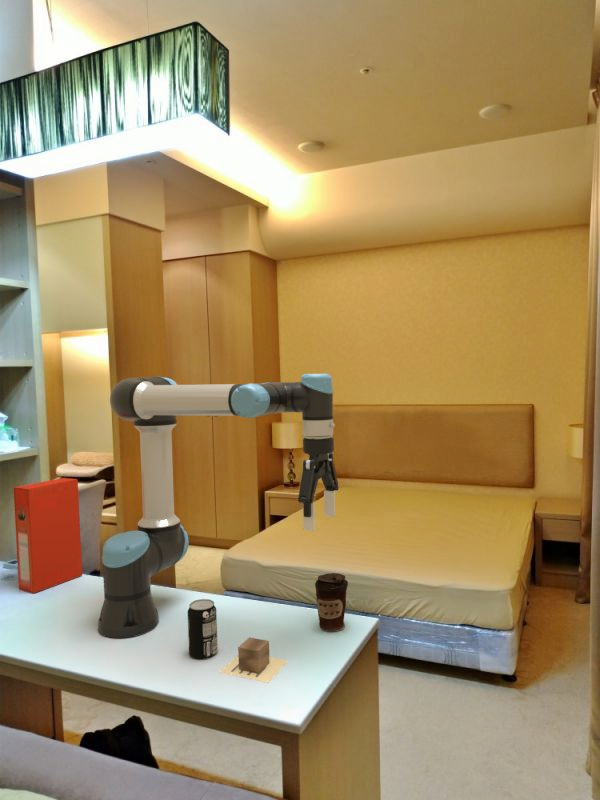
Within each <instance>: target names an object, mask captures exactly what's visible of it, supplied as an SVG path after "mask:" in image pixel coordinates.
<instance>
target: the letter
mask: <svg viewBox="0 0 600 800" xmlns="http://www.w3.org/2000/svg"><path fill="white" fill-rule="evenodd" d="M288 661H289V660H287V659H282V658H278V657H272V656H269V662H270V663H269V664H268V665H267V666H266V667H265V668H264V669H263V670H262V671H261V672H260V673H259V674H257V673H253V672H248V671H244V670H239V658H238V654H237V655H236V656H235V657H234V658H233V659H232V660H230V662H229V663H227V664H226V665H225V666H224V667H223V668H222V669H221V670H220V671H219V673H221V674H226V675H231V676H234V677H240V678H244V679H248V680H253V681H257V682H261V683H266V684H269V683H270V682H271V681H272V680H273V679H274V677H275V676H276V675H277V674H278V673H279V672H280V671H281V669H282V668H283V667H284V666H286V664H287V663H288Z"/></svg>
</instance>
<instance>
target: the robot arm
mask: <svg viewBox="0 0 600 800" xmlns="http://www.w3.org/2000/svg"><path fill="white" fill-rule="evenodd" d="M332 379H333V378H332V376H331V374H329V373H304V374H302V375H301V379H300V381H296V382H295V381H294V382H293V381H292V382H290V381H288V382H285V381H284V382H282V381H279V382H276V381H268V382H262V383H238V384H237V383H230V384H229V383H228V384H227V383H226V384H225V383H224V384H223V383H222V384H220V383H218V384H216V383H215V384H214V383H213V384H210V383H209V384H208V383H207V384H178V383H177V382H176V381H175V380H173V379H171V378H170V377H169V378H168V377H165V376H164V377H163V376H146V377H144V376H142V377H128V378H125V379H122V380H120V381H119V382H118V383H116V384H115V385H114V387H113V388H112V390H111V392H110V396H109V405H110V407H111V409H112V411H113V413H114V414H115V415H116V416H117V417H118V418H120V419H121V420H124V421H127V422H133V427H134V428H135V429H136V430H137V431H138V432H139V439H140V440H139V441H140V443H139V444H140V445H139V446H140V447H139V448H140V466H141V467H140V470H141V471H140V472H141V474H140V475H141V497H142V501H141V502H142V518H141V519H140V520H139V521H138V522H137V530H129V531H126V532H120V533H117V534H114V535H113V536H111V537H109V538H108V539H107V540H106V541H105V542H104V543H103V547H102V556H101V561H102V576H103V591H104V594H103V596H104V600H103V604H102V606H101V610H100V615H99V617H98V620H97V621H98V622H97V626H98V632H99V634H100V635H102V636H104V637H107V638H112V639H113V638H114V639H124V638H125V639H126V638H132V637H137V636H140V635H143V634H146V633H148V632H150V631H152V630H153V629H155V628H156V627H157V626H158V624H159V622H160V620H159V619H160V618H159V617H160V616H159V611H158V609H157V607H156V604H155V602H154V599H153V595H152V592H151V591H152V589H151V588H152V587H151V586H152V585H151V577H153V576H154V575H157V574H158V573H160V572H163V571H164V570H166V569H168V568H171V567H173V566H175V565H177V564H178V563H179V562H180V561H181V560H182V559H184V557H185V556H186V554H187V552H188V549H189V535H188V533H187V531H186V530H184V529H185V527H184V526H182V524H181V519H180V518H179V517H178V516H177V515H176V514H175V499H174V498H175V496H174V495H175V494H174V493H175V492H174V471H173V469H174V468H173V467H174V466H173V465H174V464H173V444H172V443H173V440H172V439H173V437H172V435H173V434H172V431H173V429H174V428H175V427H176V426H177V425H178V423H177V416H189V417H190V416H193V417H194V416H196V417H198V416H200V417H201V416H202V417H203V416H205V417H206V416H208V417H209V416H211V417H213V416H214V417H223V416H224V417H229V416H230V417H232V416H233V417H241V418H248V419H251V418H257V417H262V416H266V415H267V416H269V415H274V414H278V413H280V414H281V413H301V415H302V417H301V420H302V422H301V423H302V425H301V426H302V436H303V438H302V452H303V454H307V455H309V456H308V459H304V460H303V461H302V474H301V478H300V479H301V480H300V484H299V485H300V486H299V491H298V498H297V502H298V503H299V504H302V519H303V520H302V522H303V523H302V526H303V527H302V529H303V530H304V531H311V532H314V531H316V511H315V510H316V509H315V506H316V505H315V502H314V498H315V494H316V490H317V487H318V484H319V483H318V482H319V480H320V479H321V481H322V483H323V486H324V489H325V490H324V491H323V503H324V504H323V505H324V510H323V511H324V512H323V513H324V517H328V518H329V517H332V518H335V517H336V491H339V481H338V477H337V472H336V468H335V463H334V451H335V446H334V445H335V443H334V438H333V437H332V436H333V435H334V428H335V427H336V424H335V423H334V416H333V415H334V400H333V399H334V398H333V397H334V390H333V380H332Z"/></svg>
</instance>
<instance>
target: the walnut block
mask: <svg viewBox="0 0 600 800" xmlns="http://www.w3.org/2000/svg"><path fill="white" fill-rule="evenodd" d="M237 653H238V654H237V655H238V658H239V670H244V671H248V672H253V673H257V674H259V673H260V672H261V671H262V670H263V669H264V668H265V667H266V666H267V665H268V664H269V663H270V662H269V657H270V640H265V639H259V638H254V637H248V638H246V639H245V640H244V641H243V642H241V644H240V645H239V646H238V648H237Z"/></svg>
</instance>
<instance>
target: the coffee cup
mask: <svg viewBox="0 0 600 800" xmlns="http://www.w3.org/2000/svg"><path fill="white" fill-rule="evenodd" d="M314 586H315V596H316V606H317V614H318V623H319V624H318V625H319V628H320V629H322V631H327V632H339V631H341V630H342V631H343V630H344V629H345V625H346V624H345V620H344V618H345V613H346V608H347V607H346V606H347V589H348V586H349V581H348V580H347V579H346V575H344V574H341V573H339V572H337V573H336V572H330V573H324V574H321V575H318V576H317V580H316V581H315V583H314Z"/></svg>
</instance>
